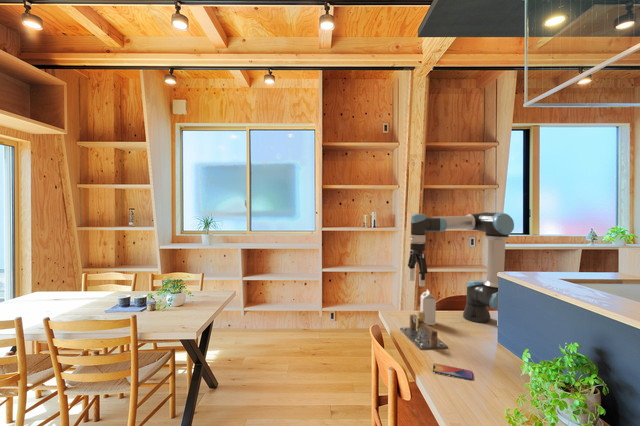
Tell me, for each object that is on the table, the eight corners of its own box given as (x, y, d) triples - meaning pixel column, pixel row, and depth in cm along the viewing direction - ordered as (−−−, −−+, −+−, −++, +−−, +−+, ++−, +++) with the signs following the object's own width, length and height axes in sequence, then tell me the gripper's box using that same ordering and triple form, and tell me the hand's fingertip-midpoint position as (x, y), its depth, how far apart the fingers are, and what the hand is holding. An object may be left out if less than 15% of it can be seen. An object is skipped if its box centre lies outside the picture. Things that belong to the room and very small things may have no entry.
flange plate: (424, 328, 182) (424, 325, 182) (447, 348, 157) (448, 345, 157) (399, 329, 180) (400, 326, 180) (420, 349, 155) (420, 346, 155)
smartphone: (473, 382, 128) (473, 379, 128) (432, 373, 133) (432, 370, 133) (472, 373, 135) (472, 370, 135) (433, 365, 140) (433, 362, 140)
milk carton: (432, 321, 194) (433, 289, 194) (435, 325, 187) (436, 292, 187) (419, 320, 195) (420, 288, 195) (422, 324, 188) (423, 291, 188)
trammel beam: (414, 327, 181) (415, 314, 181) (437, 346, 156) (437, 331, 156) (409, 327, 181) (409, 314, 181) (431, 346, 156) (431, 331, 156)
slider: (422, 333, 172) (423, 311, 171) (424, 334, 170) (424, 312, 169) (415, 333, 171) (416, 311, 171) (417, 334, 169) (418, 312, 169)
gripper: (402, 240, 187) (401, 278, 187) (421, 245, 163) (419, 289, 163) (415, 240, 188) (414, 278, 188) (435, 245, 164) (434, 288, 164)
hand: (416, 283), depth 176 cm, fingers open, 12 cm apart
